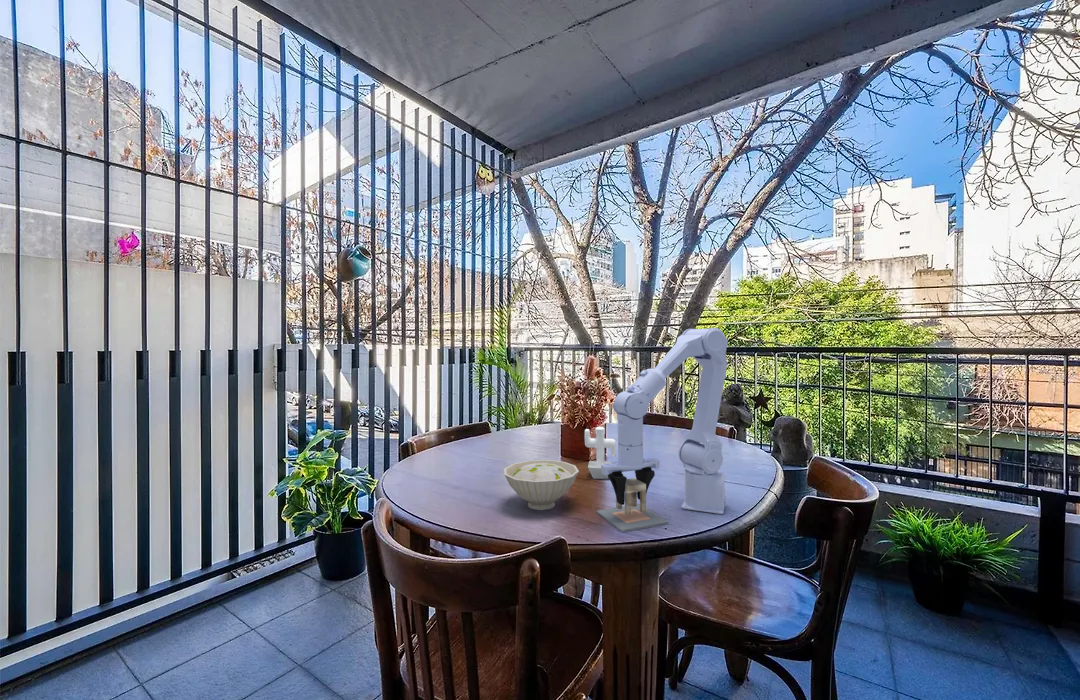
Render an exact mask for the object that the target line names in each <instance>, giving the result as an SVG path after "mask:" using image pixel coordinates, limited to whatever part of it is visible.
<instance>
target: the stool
mask: <svg viewBox="0 0 1080 700" xmlns="http://www.w3.org/2000/svg"><path fill="white" fill-rule="evenodd" d="M639 491H640V500H639V504H640V512H642V513H644V512H646V508H647V494H646V484H645V483H643V482H641V481H639V480H637V479H636V477H633V478H627V480H626V484H625V502H624V506H625V514H626V515H631V506H632V507H636V506H637V504H638V497H637V492H639ZM622 507H623V505H621V504H619V503H618V502H617V499H616V498H615V508H617V509H622Z"/></svg>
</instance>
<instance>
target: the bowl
mask: <svg viewBox="0 0 1080 700" xmlns="http://www.w3.org/2000/svg"><path fill="white" fill-rule="evenodd" d="M503 474H504V476H505V479H506V481H507V482H508V485H509V486H510V487H511V489H512V490H513V491H514V492H515V493H516V494H517V495H518V497H520V498H522V499H523V500H525V501H527V502H528V503H527V507H528V508H530V509H532V510H538V511H543V510H551V509H553V508H554V507H555V506H556V503H555V502H556V501H557V500H558V499H560V498H562V497H563V496H564V495H565V493H566V492H567V491H568V490H569V489H570V487H572V486H573V484H574V483H575V480H576V478H577V476H578V474H579V469H578V468H577V466H576V465H575V464H572V463H568V462H566V461H562V460H551V459H537V460H536V459H535V460H525V461H520V462H515V463H512V464H509V465H508V466H507V467H504V469H503Z"/></svg>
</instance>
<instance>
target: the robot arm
mask: <svg viewBox="0 0 1080 700" xmlns="http://www.w3.org/2000/svg"><path fill="white" fill-rule="evenodd" d="M728 342H729V340H728V337H726V335H725V334H724V332H723V331H722V330H721V329H720V328H717V327H711V328H687V329H685V330H684V331H683V332H682V334H681V335H679V336H678V337H677V338H676V343H675V344H674V345H673V346H672V347H671V348H670V350H669V351H668V352H667V353H666V354H665V355H664V357H663V358H662V359H661V361H660V362H658V364H657V365H656V366H655V367H654V368H647V369H644V370H642V371H641V372H640V373H639V375H640V376H638V377H637V379H636V380H635V381H634V382H633V383H632V384H629V385H628V386H627V389H626V390H624V391H621V392H620V393H618V394H617V395H616V396H615V398H614V402H612V409H613V411H614V412H615V414H616V419H617V456H618V457H617V459H618V460H616V461H611V462H612V463H608V464H603V465H601V473H602V474H604V475H608V479H609V480H610V483H611V485H612V488H613V491H614V494H615V500H616V499H617V502H618V503H619V504H621V505H622V506H625V484H626V480H627V479H628V477H627V476H625V475H624V473H625V472H626V473H627V472H633V471H634V474H635V479H637V480H639V481H641V482H643V483H645V484H646V495H647V493H648V490H649V487H650V484H651V483H652V480H653V478H654V477H655V475H656V474H655V470H654V469H660V459H658V458H655V457H654V458H644V441H643V440H644V437H643V436H644V421H643V420H644V416H645V415H647V413H648V411H649V405H650V403H651V402H652V401H653V400H654V398H655V397H656V396H657V395H658V394H659V393H660V392H661V391H662V390H663V389H664V388H665V387H666V384H667V383H666V380H667V379H666V378H667V377H669V376H670V375H671V374H673V372H674V371H675V370H676V369H677V368H678V367H680V366H681V364H683V363H684V362H685V361H686V360H687V359H688V358H693V359H694V360H695V361H697V362H698V363H699V365H700V366H701V368H702V371H701V375H700V376H701V377H700V382H699V389H698V392H697V393H698V394H697V399H696V405H695V410H694V415H693V421H692V422H693V423H692V426H691V427H692V428H691V429H690V430H689V431H688V432H686V433H685V434H684V436H683V440H682V443H681V445H680V446H679V448H678V458H679V460H680V462H682V464H683V469H684V491H685V492H684V500H683V502H682V504H681V509H684V510H689V511H697V512H705V513H712V514H713V513H714V514H720V515H723V514H724V513H725V505H726V503H727V496H725V495H726V492H725V491H726V488H725V486H726V484H725V483H726V482H725V479H726V478H725V473H724V472H720V469H721V467H722V465H723V460H724V459H723V458H724V456H723V454H722V452H723V451H722V449H723V443H722V441H721V440H720V439H719V437H718V436H717V434H716V430H717V424H718V421H719V420H718V419H719V414H720V408H721V402H722V397H723V390H724V383H725V378H726V372H727V366H728V361H727V347H728ZM637 500H639V501H640V491H639V492H637Z"/></svg>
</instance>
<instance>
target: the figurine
mask: <svg viewBox="0 0 1080 700" xmlns="http://www.w3.org/2000/svg"><path fill="white" fill-rule="evenodd" d="M594 429H595V430H594V431H595V432H594V433H595V438H594V437H591V432H590V429H589V428H586V429H584V445H585V447H586V448H591V449H592V448H593V449H594V448H595V451H596V453H595V455H596V460H595V461H594V460H590V461H589V462H588V466H587V469H588V472H589V473H590V475H591V477H592V479H594V480H596V479H598V480H599V479H601V480H608V479H609V477H608V475H604V474H602V473H601V465H603V464H608V463H612V462H613V461H605V449H610V456H611V457H612V458H615V457H616V456H617V441H616V440H615V439H614V438H605V434H606V429H605V427H604V426H596V427H595V428H594Z"/></svg>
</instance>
